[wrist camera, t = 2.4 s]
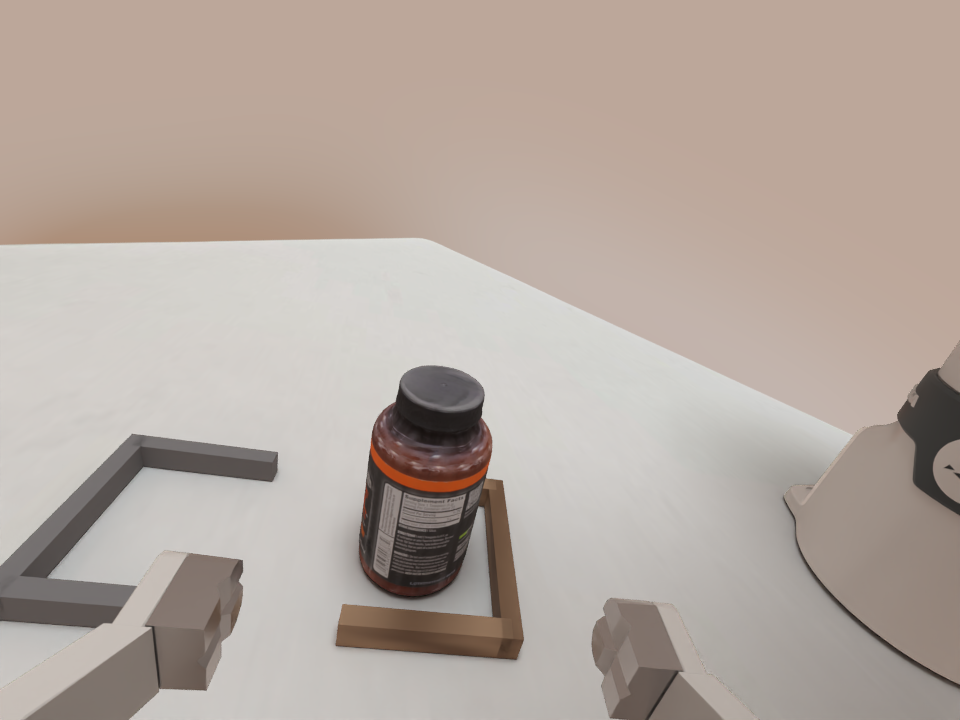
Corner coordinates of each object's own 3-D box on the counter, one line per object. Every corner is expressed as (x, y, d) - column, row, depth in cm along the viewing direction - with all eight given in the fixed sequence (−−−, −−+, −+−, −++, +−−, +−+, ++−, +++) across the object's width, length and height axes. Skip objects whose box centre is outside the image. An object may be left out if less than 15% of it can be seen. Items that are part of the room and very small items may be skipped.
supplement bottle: (371, 507, 30) (393, 344, 25) (466, 525, 30) (506, 367, 25) (342, 591, 25) (363, 404, 20) (458, 611, 25) (507, 432, 20)
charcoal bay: (277, 471, 31) (277, 452, 31) (197, 634, 21) (194, 612, 21) (134, 453, 30) (132, 433, 29) (-19, 618, 20) (-28, 594, 20)
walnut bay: (497, 497, 33) (502, 480, 32) (516, 659, 23) (523, 639, 23) (371, 482, 32) (374, 464, 31) (335, 645, 22) (338, 624, 22)
